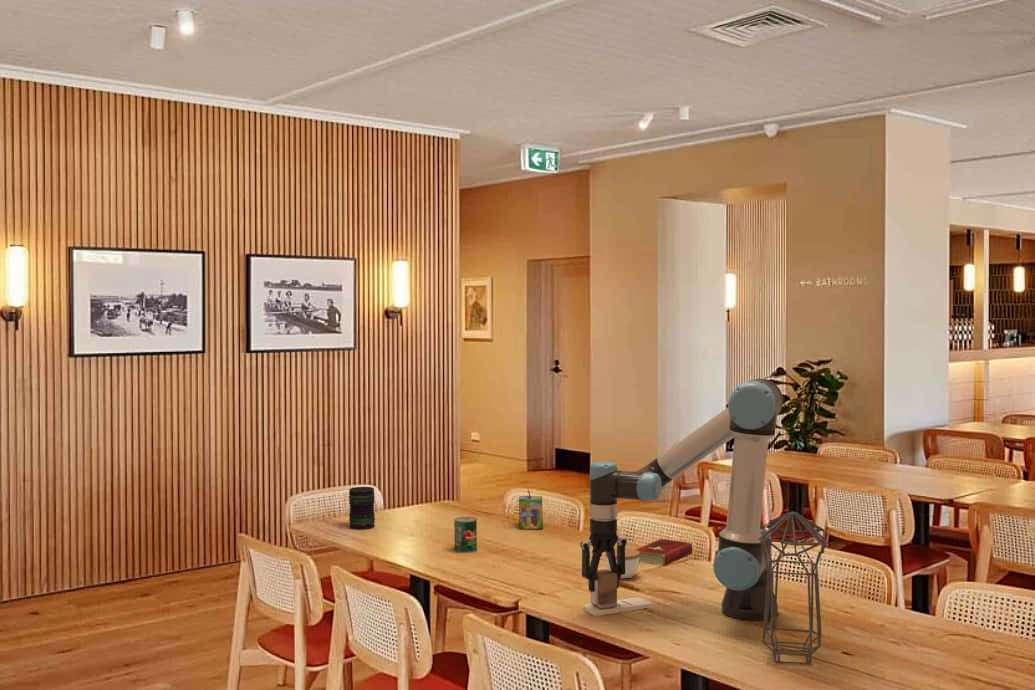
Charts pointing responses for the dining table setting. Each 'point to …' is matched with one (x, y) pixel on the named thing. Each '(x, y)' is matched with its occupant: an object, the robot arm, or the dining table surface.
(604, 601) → the eraser block
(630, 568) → the lidded jar
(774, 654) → the geometric lantern
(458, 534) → the canned tomato
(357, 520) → the storage jar
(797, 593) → the dining table surface
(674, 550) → the hardcover book
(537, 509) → the green juice box
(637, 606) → the board
